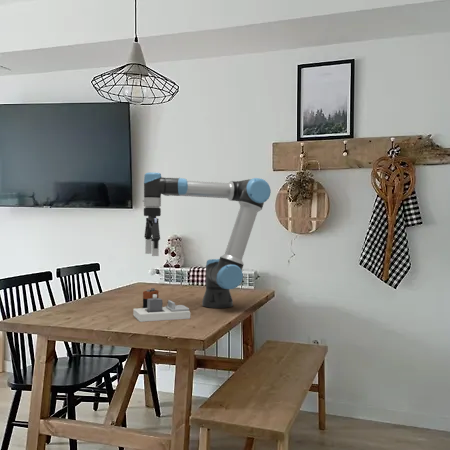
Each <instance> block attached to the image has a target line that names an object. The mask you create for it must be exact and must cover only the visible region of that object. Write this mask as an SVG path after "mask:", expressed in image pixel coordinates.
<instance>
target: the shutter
mask: <svg viewBox="0 0 450 450" xmlns="http://www.w3.org/2000/svg"><path fill="white" fill-rule="evenodd" d="M165 307H166V308H168V309H169V310H171V311H183V310H188V311H190V308H189V307H188V306H185V305H184V304H176V302H174V301H172V300H170V299H168V300H167V305H165Z"/></svg>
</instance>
